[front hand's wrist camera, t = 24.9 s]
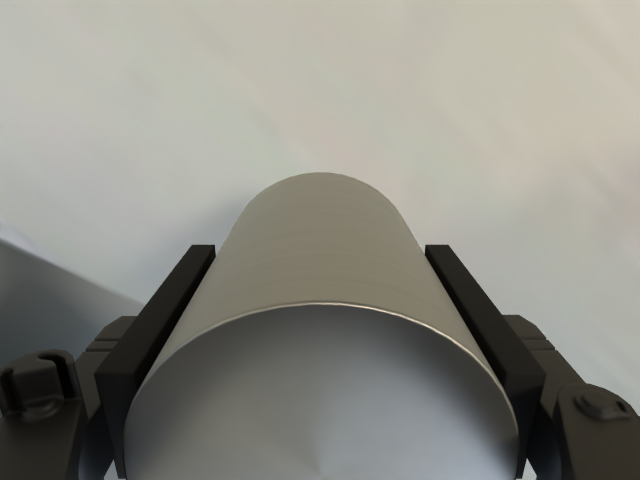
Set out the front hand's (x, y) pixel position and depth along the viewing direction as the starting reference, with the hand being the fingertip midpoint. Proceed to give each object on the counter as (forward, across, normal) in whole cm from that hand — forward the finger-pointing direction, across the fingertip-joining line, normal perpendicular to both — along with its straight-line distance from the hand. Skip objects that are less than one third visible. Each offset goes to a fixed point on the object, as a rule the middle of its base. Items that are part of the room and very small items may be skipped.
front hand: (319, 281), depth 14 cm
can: (+2, 0, 0) cm, 2 cm away
